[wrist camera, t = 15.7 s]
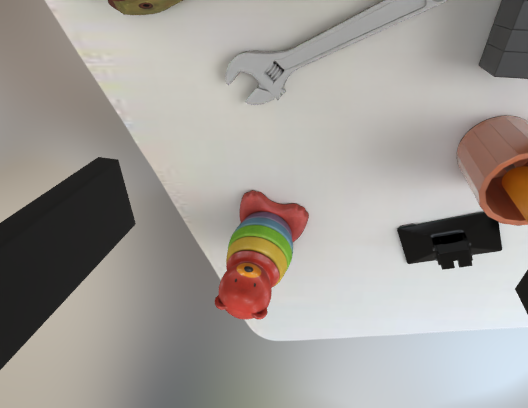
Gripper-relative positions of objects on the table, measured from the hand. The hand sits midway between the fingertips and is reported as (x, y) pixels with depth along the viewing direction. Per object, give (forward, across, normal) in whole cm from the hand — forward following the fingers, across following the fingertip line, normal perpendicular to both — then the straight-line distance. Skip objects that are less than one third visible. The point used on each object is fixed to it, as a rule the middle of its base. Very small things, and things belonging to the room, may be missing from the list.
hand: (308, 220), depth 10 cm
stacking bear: (+33, -8, -26) cm, 43 cm away
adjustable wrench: (+33, -2, 0) cm, 33 cm away
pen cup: (+33, +19, -10) cm, 39 cm away
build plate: (+33, +18, -24) cm, 45 cm away
